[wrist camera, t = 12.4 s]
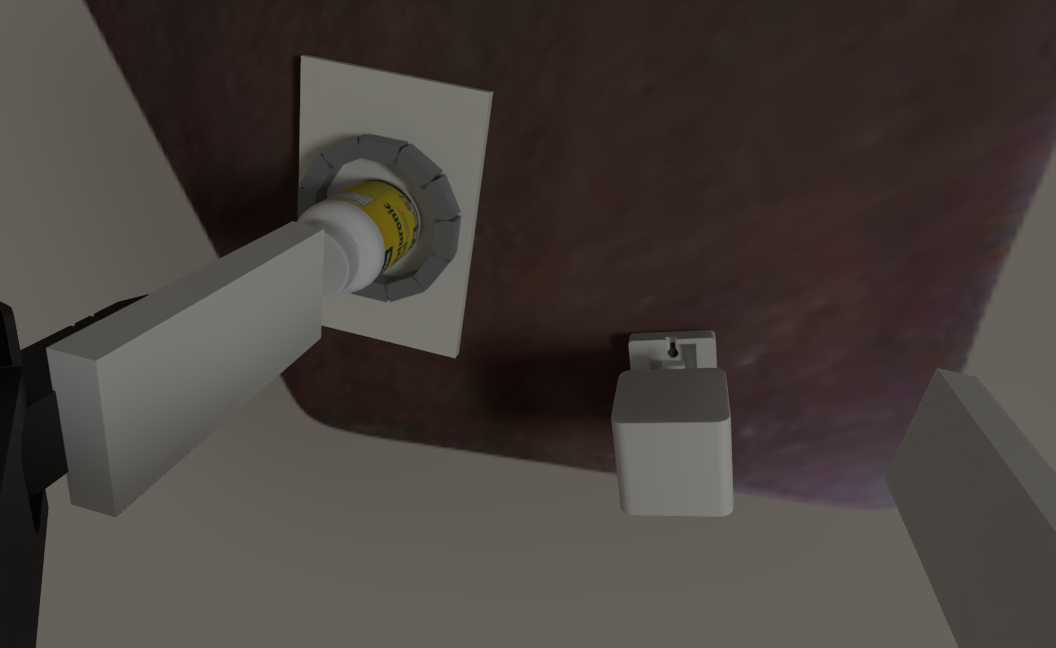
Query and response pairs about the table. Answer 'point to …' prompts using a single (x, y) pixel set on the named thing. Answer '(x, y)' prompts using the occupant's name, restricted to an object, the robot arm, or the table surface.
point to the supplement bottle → (363, 233)
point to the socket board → (419, 168)
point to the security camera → (673, 428)
